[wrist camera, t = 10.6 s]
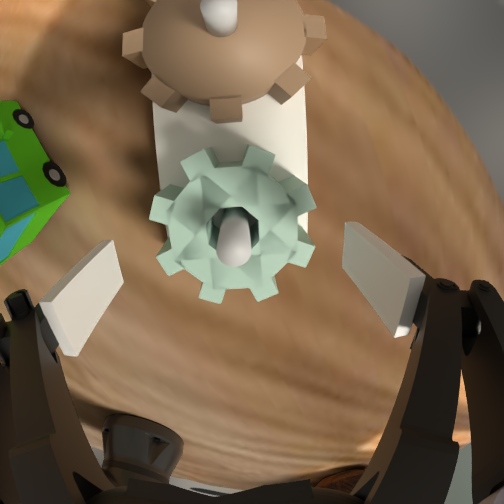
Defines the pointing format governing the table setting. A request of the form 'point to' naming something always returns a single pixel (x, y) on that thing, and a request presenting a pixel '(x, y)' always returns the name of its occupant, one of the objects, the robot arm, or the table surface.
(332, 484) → the brown wooden bulbous vase
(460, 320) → the robot arm
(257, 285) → the loose gear
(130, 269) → the table surface
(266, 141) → the gear board
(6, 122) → the toy car
